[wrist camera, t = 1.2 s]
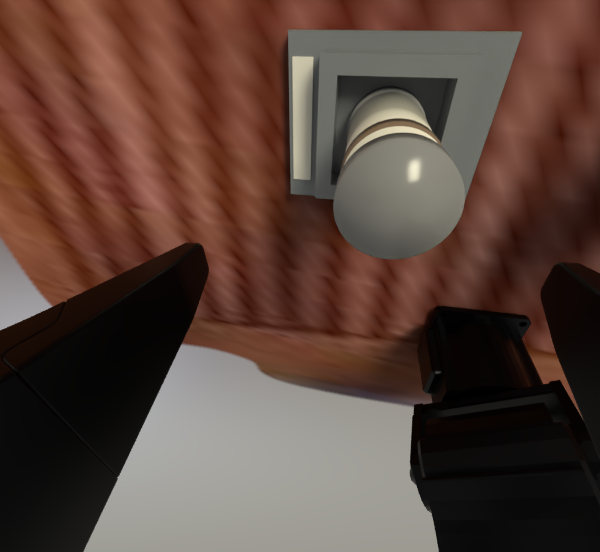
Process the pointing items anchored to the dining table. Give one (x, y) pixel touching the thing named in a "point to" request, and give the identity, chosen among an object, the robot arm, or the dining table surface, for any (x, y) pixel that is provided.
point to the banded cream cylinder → (395, 179)
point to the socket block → (391, 72)
